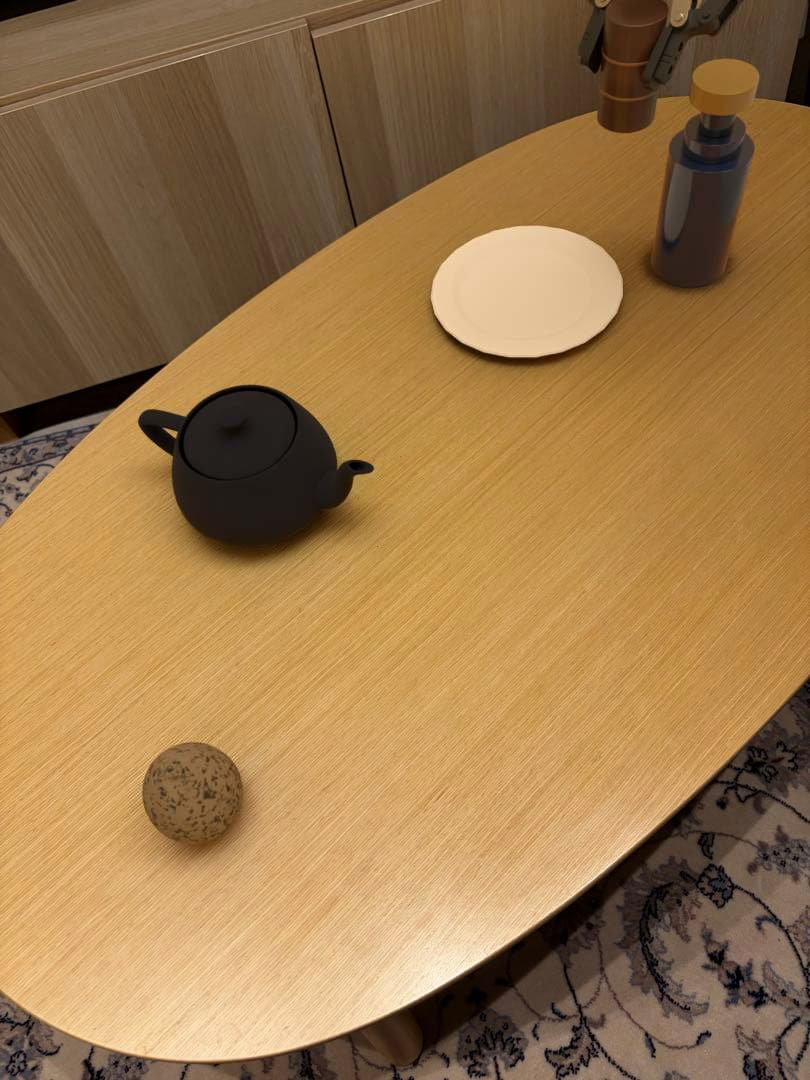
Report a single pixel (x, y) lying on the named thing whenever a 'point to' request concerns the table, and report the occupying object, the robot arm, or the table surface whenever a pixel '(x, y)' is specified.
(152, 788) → the decorative egg
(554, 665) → the table surface
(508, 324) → the plate
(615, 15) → the brown ridged cylinder
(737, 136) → the bottle
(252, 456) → the teapot
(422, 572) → the table surface
